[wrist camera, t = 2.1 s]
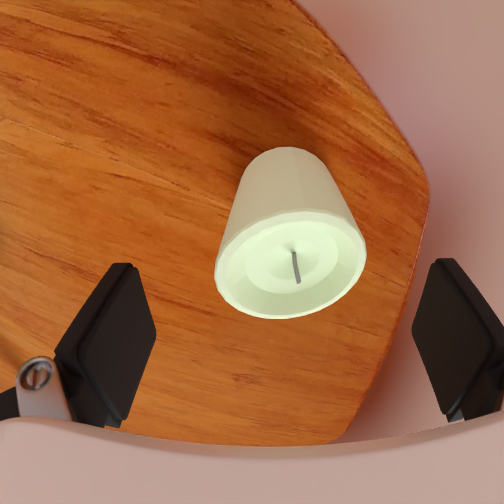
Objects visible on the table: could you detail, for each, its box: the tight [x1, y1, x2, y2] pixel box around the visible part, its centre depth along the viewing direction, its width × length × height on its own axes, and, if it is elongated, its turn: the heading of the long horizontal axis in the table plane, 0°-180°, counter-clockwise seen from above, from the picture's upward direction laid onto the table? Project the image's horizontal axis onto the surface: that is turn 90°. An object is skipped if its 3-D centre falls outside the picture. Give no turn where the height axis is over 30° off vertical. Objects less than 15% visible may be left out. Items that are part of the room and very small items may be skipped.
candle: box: [214, 147, 367, 319], centre depth 13 cm, size 5×5×8 cm
